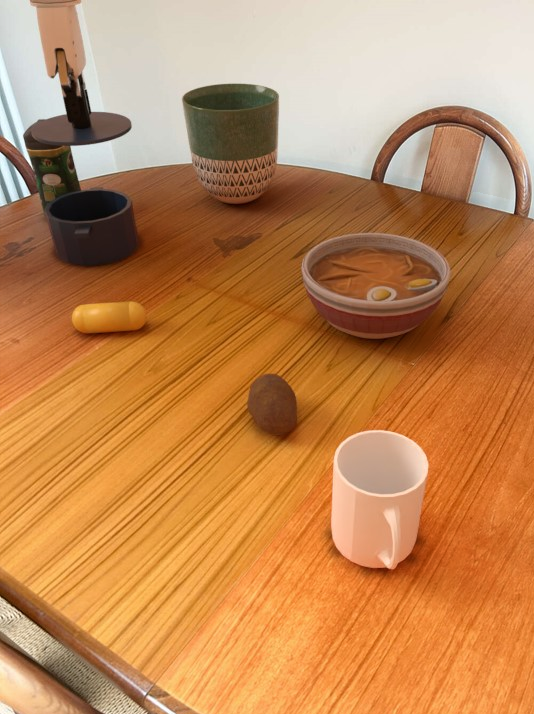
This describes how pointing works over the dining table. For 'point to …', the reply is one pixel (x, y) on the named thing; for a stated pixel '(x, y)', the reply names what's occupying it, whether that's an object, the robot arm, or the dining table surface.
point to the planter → (233, 139)
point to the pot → (92, 226)
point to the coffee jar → (51, 168)
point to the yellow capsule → (109, 317)
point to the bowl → (375, 283)
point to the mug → (377, 497)
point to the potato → (273, 404)
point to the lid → (81, 128)
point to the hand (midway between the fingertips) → (80, 117)
